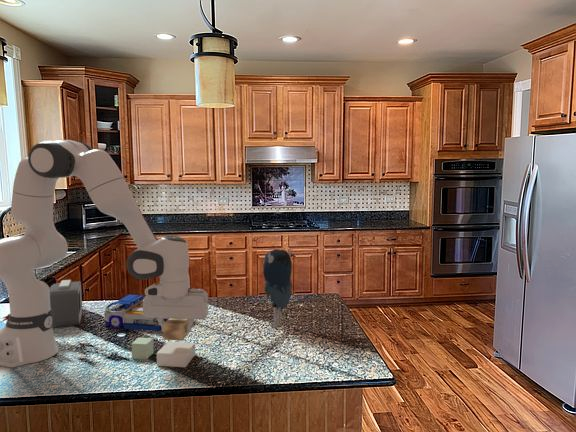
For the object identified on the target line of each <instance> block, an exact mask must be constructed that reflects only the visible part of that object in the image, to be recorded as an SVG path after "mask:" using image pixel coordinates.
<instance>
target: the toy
mask: <svg viewBox="0 0 576 432" xmlns="http://www.w3.org/2000/svg"><path fill="white" fill-rule="evenodd" d="M291 251H292V250H291V249H289V250H288V251H287V250H285V249H279V248H276V249H273V250H269V252H267V253H265V256H264V262H263V267H262V268H263V269H262V271H263V278H264V282H265V283H264V289H263V290H264V292H265V294H266V297H267V299H266V300H267V301H268V300H269V298H270V306H271V307H273V313H274V317H273V319H274V320H273V322H272V321H271V323H270V327H272V328H273V329H274V328H275V329H278V328H279V327H282V324H281V323H282V322H281V321H282V316H283V315H282V312H284V309H285V308H286V310H289V309H288V304H289V303H290V300H291V297H292V296H293V293H292V287H293V286H292V285H293V283H292V279H291V278H292V277H291V276H292V271H293V270H292V269H293V263H292V259H291V257H292V252H291Z"/></svg>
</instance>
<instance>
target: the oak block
mask: <svg viewBox="0 0 576 432" xmlns="http://www.w3.org/2000/svg"><path fill="white" fill-rule="evenodd" d="M189 323H190V322H188V319H176V318H169V319H168V320H167V321H166V322H165V323H163V331H162V332H163V333H162V334H163V335H162V337H163V341H183V340H184V339H185V338H187V336H188V335H190V333H188V332H185V326H186V325H189Z"/></svg>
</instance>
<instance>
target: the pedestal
mask: <svg viewBox="0 0 576 432" xmlns="http://www.w3.org/2000/svg"><path fill="white" fill-rule="evenodd" d="M195 355H196V343H195V342H186V341H167V342H166V343H165V344H164V345H163V346H162V347H161V348H160V349H159V350H158V351H157V352H156V366H158V367H160V366H161V367H176V368H186V367H187V366H188V365H189V363H190V362H191V361H192V359H193V358H194V357H195Z"/></svg>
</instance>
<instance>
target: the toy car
mask: <svg viewBox="0 0 576 432" xmlns="http://www.w3.org/2000/svg"><path fill="white" fill-rule="evenodd" d="M143 300H144V295H139V294H138V295H137V294H126V296H124V297H122V298H121V299H118V300H117V301H115V302H111V303H109V304H108V305H107V306H106V307H105V308H104V327H109V328H110V327H111V328H113V329H120V328H121V327H122V328H123V329H125V330H139V331H150V330H152V331H151V332H161V331H162V328H161V325H160V324H159V322H158V318H151V317H145V316H144V315H143ZM168 319H169V318H165V319H163V320H164V322H166V321H167V320H168Z"/></svg>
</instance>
